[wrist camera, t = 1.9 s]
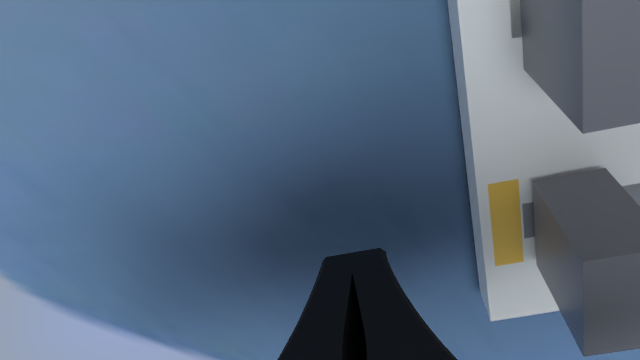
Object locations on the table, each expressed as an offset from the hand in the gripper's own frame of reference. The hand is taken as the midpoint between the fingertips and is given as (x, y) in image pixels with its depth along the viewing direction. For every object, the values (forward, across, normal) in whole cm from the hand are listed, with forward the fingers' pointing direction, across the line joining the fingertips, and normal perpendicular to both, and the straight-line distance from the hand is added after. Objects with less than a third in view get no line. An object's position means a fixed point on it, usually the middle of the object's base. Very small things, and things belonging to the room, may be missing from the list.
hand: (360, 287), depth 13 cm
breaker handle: (+1, -5, 0) cm, 5 cm away
